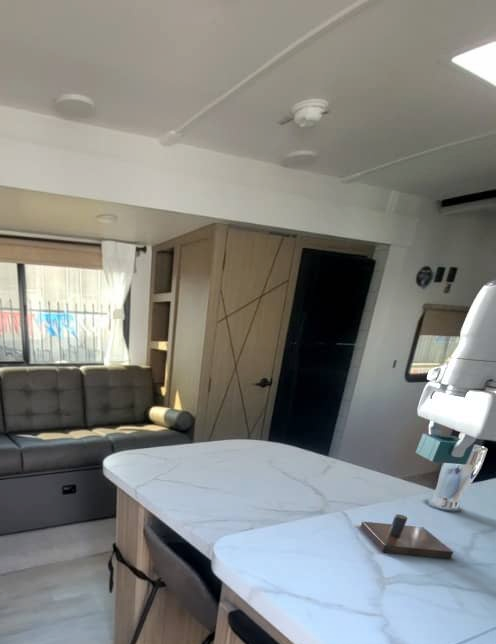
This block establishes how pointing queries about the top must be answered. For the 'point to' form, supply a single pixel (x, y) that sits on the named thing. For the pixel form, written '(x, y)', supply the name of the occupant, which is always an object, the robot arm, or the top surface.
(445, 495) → the beer glass
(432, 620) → the top surface
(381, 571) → the top surface
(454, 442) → the teal hollow square block
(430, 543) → the base pad
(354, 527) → the top surface
